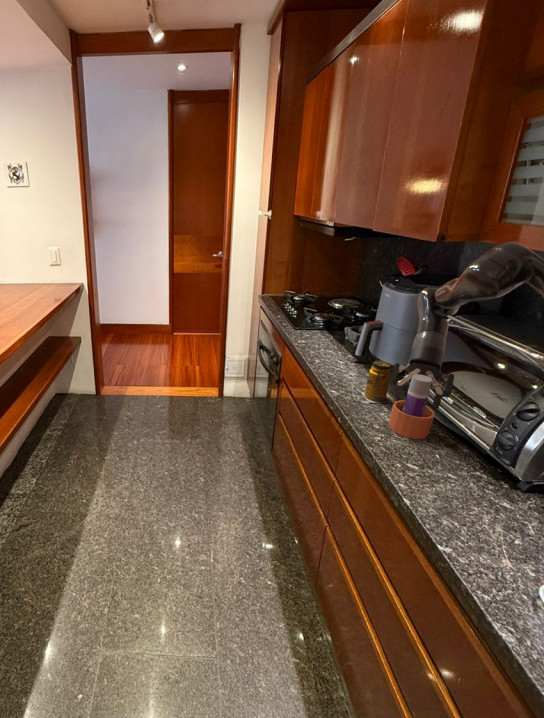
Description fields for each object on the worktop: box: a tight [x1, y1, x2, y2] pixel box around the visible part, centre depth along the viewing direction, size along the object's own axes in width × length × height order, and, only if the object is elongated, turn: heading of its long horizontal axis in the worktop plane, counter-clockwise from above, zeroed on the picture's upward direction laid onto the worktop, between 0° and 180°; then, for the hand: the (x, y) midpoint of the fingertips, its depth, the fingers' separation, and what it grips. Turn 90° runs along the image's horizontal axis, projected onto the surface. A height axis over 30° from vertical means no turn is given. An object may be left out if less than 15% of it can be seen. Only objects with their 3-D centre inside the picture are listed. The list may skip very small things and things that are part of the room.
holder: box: [388, 399, 436, 440], centre depth 106 cm, size 10×10×6 cm
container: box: [402, 374, 432, 417], centre depth 105 cm, size 5×5×15 cm
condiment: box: [360, 360, 396, 404], centre depth 122 cm, size 7×8×12 cm
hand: (415, 404), depth 103 cm, fingers open, 8 cm apart
